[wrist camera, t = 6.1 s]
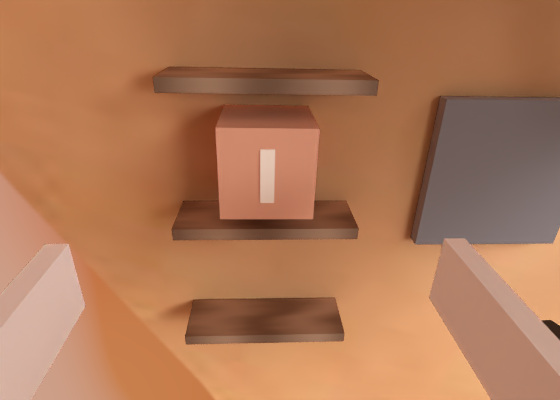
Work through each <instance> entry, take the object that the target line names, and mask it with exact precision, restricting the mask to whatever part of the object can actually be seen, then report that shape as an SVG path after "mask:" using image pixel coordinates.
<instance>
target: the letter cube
mask: <svg viewBox="0 0 560 400" xmlns="http://www.w3.org/2000/svg"><path fill="white" fill-rule="evenodd" d="M215 131H216V150H217V170H218V189H219V208H220V219H313V213H314V200H315V187H316V173H317V160H318V147H319V133H320V128H319V126H318V124H317V122H316V120H315V119H314V117H313V115H312V113H311V111H310V109H309V107H308V106H282V105H224V106H223V109H222V111H221V114H220V117H219V119H218V122H217V125H216V127H215Z"/></svg>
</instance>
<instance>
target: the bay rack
mask: <svg viewBox="0 0 560 400" xmlns="http://www.w3.org/2000/svg"><path fill="white" fill-rule="evenodd" d="M378 82H379V80H377V79H375V78H373V77H372V76H370V75H368V74H367V73H365V72H363V71H362V70H326V69H268V68H210V67H168V68H167V69H165V70H163V71H162V72H160V73H158V74H157V75H155V76H154V77H153V83H154V91H155V93H218V94H291V95H365V96H377V89H378ZM358 230H359V228H358V226H357V224H356V222H355V219H354V217H353V215H352V213H351V211H350V208H349V206H348V204H347V202H346V201H314V213H313V219H220V208H219V201H183V203H182V205H181V208H180V210H179V213H178V215H177V218H176V220H175V223H174V225H173V228H172V236H173V240H282V239H357V237H358ZM185 340H186V344H230V343H278V342H326V341H343V340H344V330H343V326H342V322H341V318H340V315H339V311H338V307H337V303H336V299H335V298H284V299H217V300H193V304H192V309H191V313H190V317H189V322H188V326H187V330H186V335H185Z"/></svg>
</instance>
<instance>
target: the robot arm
mask: <svg viewBox="0 0 560 400" xmlns="http://www.w3.org/2000/svg"><path fill="white" fill-rule="evenodd" d="M429 299H430V300H431V302H432V304H433V305H434V307H435V309H436V310H437V312H438V313H439V315H440V317H441V318H442V320H443V322H444V323H445V325H446V327H447V328H448V330H449V331H450V333H451V335H452V336H453V338H454V340H455V341H456V343H457V345H458V346H459V348H460V349H461V351H462V353H463V354H464V356H465V358H466V359H467V361H468V363H469V364H470V366H471V367H472V369H473V371H474V372H475V374H476V376H477V377H478V379H479V381H480V382H481V384H482V385H483V387H484V389H485V390H486V392H487V394H488V395H489V397H490V399H491V400H560V326H559V325H558V324H556V323H555V322H553V321H551V320H542V321H541V320H540V319H539V318H538V316H537V315H536V314H535V313H534V312H533V311H532V310H531V309H530V308H529V307H528V306H527V305H526V304H525V303H524V301H523V300H522V299H521V298H520V297H519V296H518V295H517V294H516V293H515V292H514V291H513V290H512V289H511V287H510V286H509V285H508V284H507V283H506V282H505V281H504V280H503V279H502V278H501V277H500V276H499V275H498V273H497V272H496V271H495V270H494V269H493V268H492V267H491V266H490V265H489V264H488V263H487V262H486V261H485V260H484V258H483V257H482V256H481V255H480V254H479V253H478V252H477V251H476V250H475V249H474V248H473V247H472V246H471V244H470V243H469V242H468V241H467V240H466V239H465V238H444V241H443V245H442V249H441V253H440V257H439V261H438V265H437V269H436V273H435V277H434V280H433V284H432V288H431V292H430V296H429ZM84 308H85V303H84V299H83V295H82V292H81V288H80V284H79V281H78V277H77V273H76V269H75V266H74V262H73V258H72V254H71V251H70V247H69V244H45V245H44V246H43V247H42V248H41V249H40V251H38V253H37V254H36V255H35V256H34V257H33V258H32V259H31V260H30V261H29V262H28V264H27V265H26V266H25V267H24V268H23V269H22V270H21V271H20V272H19V274H18V275H17V276H16V277H15V278H14V279H13V280H12V281H11V282H10V283H9V285H8V286H7V287H6V288H5V289H4V290H3V291H2V292H1V294H0V400H32V398H33V397H34V395H35V393H36V391H37V390H38V388H39V386H40V384H41V383H42V381H43V379H44V377H45V376H46V374H47V372H48V370H49V369H50V367H51V365H52V364H53V362H54V360H55V358H56V357H57V355H58V353H59V351H60V350H61V348H62V346H63V344H64V343H65V341H66V339H67V337H68V336H69V334H70V332H71V330H72V329H73V327H74V325H75V324H76V322H77V320H78V318H79V317H80V315H81V313H82V311H83V309H84Z"/></svg>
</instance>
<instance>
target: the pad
mask: <svg viewBox="0 0 560 400" xmlns="http://www.w3.org/2000/svg"><path fill="white" fill-rule="evenodd" d="M559 227H560V98H544V97H470V96H440V100H439V105H438V110H437V114H436V119H435V124H434V129H433V133H432V138H431V143H430V148H429V153H428V157H427V162H426V167H425V172H424V176H423V181H422V186H421V191H420V195H419V200H418V205H417V210H416V214H415V219H414V224H413V229H412V233H411V239H412V240H413V242H414V243H415V244H443V241H444V238H465V239H466V240H467V241H468V242H469V243H470V244H536V243H553V242H554V240H555V237H556V235H557V232H558V230H559Z"/></svg>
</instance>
